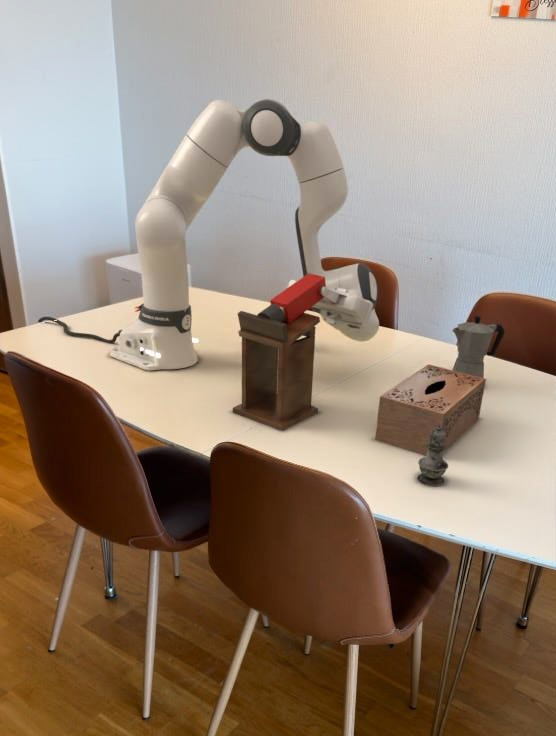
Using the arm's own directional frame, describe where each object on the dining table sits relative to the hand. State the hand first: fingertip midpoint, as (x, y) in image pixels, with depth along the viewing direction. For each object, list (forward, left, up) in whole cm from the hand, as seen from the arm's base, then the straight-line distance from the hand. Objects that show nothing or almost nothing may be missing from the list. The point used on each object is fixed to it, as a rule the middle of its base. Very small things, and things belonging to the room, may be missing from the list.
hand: (310, 286), depth 157 cm
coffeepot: (+31, +35, -27) cm, 54 cm away
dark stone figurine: (+39, -22, -27) cm, 52 cm away
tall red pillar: (-1, -6, -7) cm, 9 cm away
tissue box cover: (+31, +1, -27) cm, 41 cm away
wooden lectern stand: (-2, -11, -26) cm, 28 cm away
